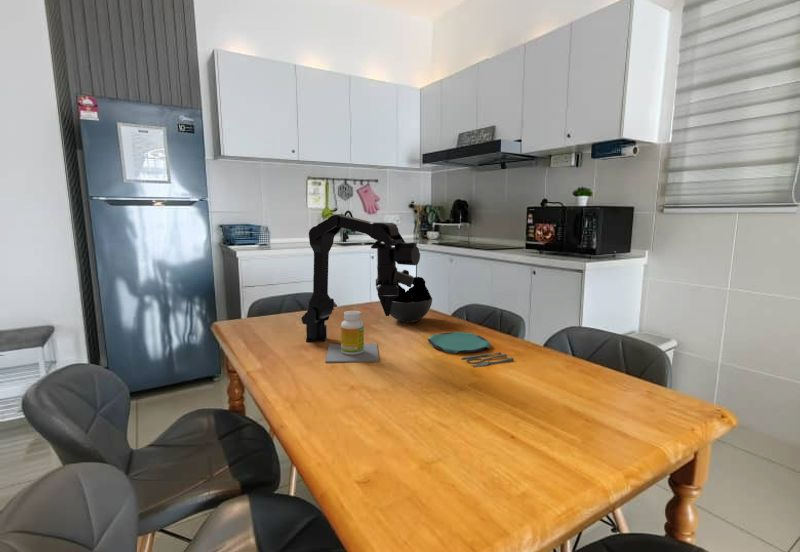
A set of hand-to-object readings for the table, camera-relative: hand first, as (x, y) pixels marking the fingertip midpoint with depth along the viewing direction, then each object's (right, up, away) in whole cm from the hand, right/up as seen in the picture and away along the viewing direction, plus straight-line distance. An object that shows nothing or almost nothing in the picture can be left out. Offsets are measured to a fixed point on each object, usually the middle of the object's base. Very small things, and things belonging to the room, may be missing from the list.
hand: (386, 312), depth 134 cm
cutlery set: (+26, -13, +6) cm, 30 cm away
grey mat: (-11, -13, +1) cm, 17 cm away
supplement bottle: (-11, -13, +1) cm, 17 cm away
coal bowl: (+7, -7, +41) cm, 42 cm away
